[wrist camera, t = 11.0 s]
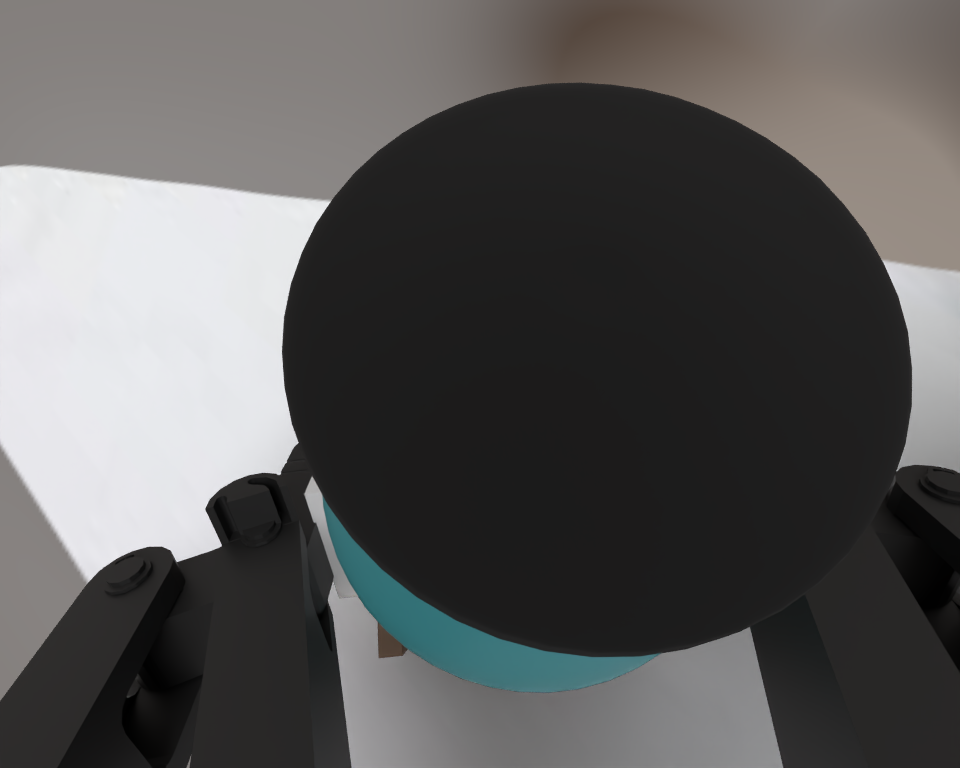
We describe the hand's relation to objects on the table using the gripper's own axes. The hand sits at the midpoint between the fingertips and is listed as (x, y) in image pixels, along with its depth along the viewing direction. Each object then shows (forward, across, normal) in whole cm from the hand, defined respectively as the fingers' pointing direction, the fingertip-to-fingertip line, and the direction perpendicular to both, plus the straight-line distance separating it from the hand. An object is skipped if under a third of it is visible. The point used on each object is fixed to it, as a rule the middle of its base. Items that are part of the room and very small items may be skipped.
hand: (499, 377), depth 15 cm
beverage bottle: (+3, 0, -9) cm, 10 cm away
